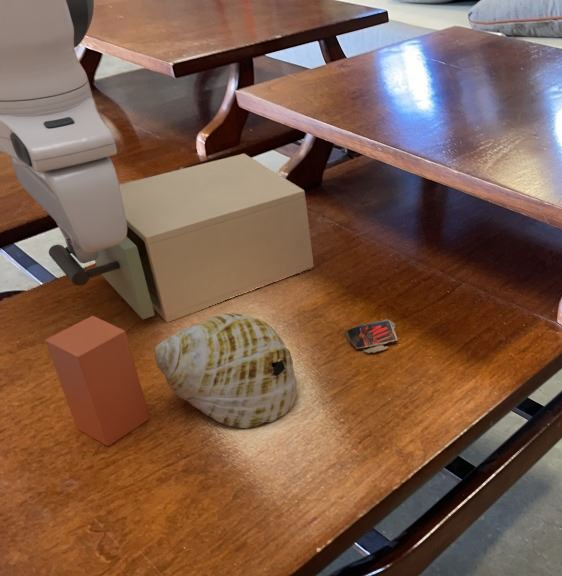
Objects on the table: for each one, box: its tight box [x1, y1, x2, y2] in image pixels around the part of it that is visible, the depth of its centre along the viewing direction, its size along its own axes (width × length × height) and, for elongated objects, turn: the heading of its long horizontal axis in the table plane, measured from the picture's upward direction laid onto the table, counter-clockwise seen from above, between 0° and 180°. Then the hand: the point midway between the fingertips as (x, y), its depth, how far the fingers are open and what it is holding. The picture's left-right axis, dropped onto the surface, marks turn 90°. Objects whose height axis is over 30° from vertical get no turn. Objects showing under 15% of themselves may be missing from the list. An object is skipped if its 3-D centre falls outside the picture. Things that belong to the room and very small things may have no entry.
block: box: [45, 315, 151, 447], centre depth 60 cm, size 4×4×9 cm
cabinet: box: [119, 153, 315, 323], centre depth 82 cm, size 17×14×10 cm
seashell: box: [154, 312, 298, 429], centre depth 64 cm, size 10×10×10 cm
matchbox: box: [345, 318, 398, 354], centre depth 74 cm, size 5×5×1 cm
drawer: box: [48, 226, 159, 320], centre depth 79 cm, size 20×12×8 cm, turn 133°
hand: (84, 256), depth 74 cm, fingers closed
